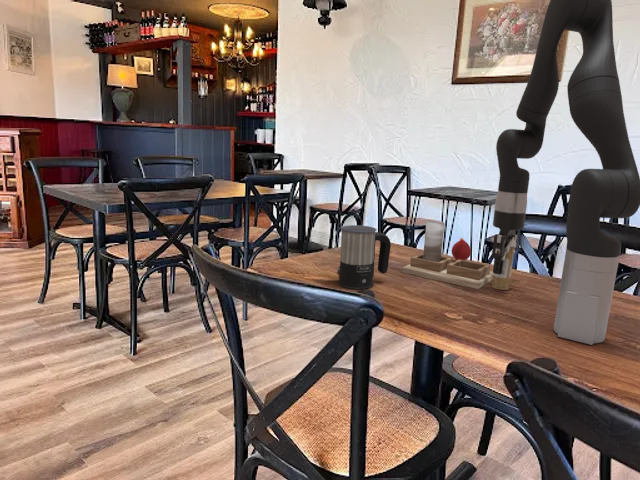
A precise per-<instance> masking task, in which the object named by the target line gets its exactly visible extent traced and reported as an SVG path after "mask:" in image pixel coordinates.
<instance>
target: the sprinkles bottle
mask: <svg viewBox="0 0 640 480" xmlns="http://www.w3.org/2000/svg"><path fill="white" fill-rule="evenodd" d="M515 242H516V240H515V239H514V240H513V243H512V244H511V246H510V249H509V252H508V253H506V255H505V259H504V264H503V272H502V274H500V275H499V274H494V273H493V280H491V281H492V283H491V287H492V288H493V289H495V290H499V291H501V290H502V291H508V290H509V289H510V281H511V276H512V269H513V268H512V267H513V266H512V265H513V260H512V259H514V254H513V251H514V247H515ZM498 254H500V252H498Z"/></svg>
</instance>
